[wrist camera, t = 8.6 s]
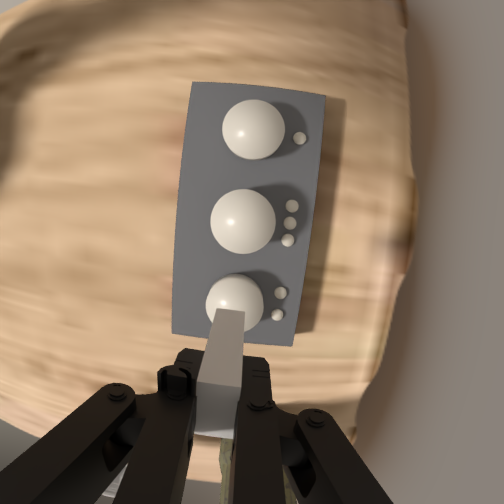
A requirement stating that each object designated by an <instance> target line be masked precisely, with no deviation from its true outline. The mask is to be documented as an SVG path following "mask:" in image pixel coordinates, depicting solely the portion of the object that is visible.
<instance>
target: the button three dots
mask: <svg viewBox="0 0 504 504" xmlns="http://www.w3.org/2000/svg"><path fill="white" fill-rule="evenodd" d="M210 223H211V229H212V233H213V235H214V237H215V239H216V240H217V242H218V243H219V244H220V245H221V246H222V247H224V248H225V249H227V250H229V251H231V252H234V253H238V254H248V253H253V252H255V251H258V250H260V249H261V248H263V247H264V246H265V245H266V244H267V243H268V242H269V241H270V239H271V238H272V235H273V233H274V230H275V225H276V218H275V213H274V210H273V208H272V206H271V204H270V203H269V201H268V200H267V199H266V198H265V197H264V196H262V195H261V194H259V193H258V192H256V191H253V190H248V189H238V190H234V191H231V192H229V193H227V194H225V195H224V196H222V197H221V198H220V199H219V200H218V202H217V203H216V204H215V206H214V208H213V210H212V213H211V221H210Z"/></svg>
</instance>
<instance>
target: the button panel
mask: <svg viewBox="0 0 504 504" xmlns="http://www.w3.org/2000/svg"><path fill="white" fill-rule="evenodd" d="M325 97H326V96H325V95H320V94H314V93H308V92H302V91H296V90H289V89H282V88H274V87H265V86H256V85H245V84H232V83H216V82H192V87H191V93H190V100H189V106H188V113H187V120H186V128H185V135H184V143H183V152H182V160H181V170H180V180H179V190H178V201H177V214H176V227H175V243H174V262H173V287H172V334H179V335H186V336H193V337H200V338H209V334H210V330H211V327H212V322H211V321H210V319H209V317H208V315H207V312H206V300H207V296H208V294H209V291H210V289H211V287H212V285H213V284H214V283H215V282H216V281H217V280H218V279H219V278H221V277H223V276H225V275H229V274H242V275H245V276H247V277H249V278H251V279H252V280H254V281H255V282H256V283H257V284H258V286H259V287H260V289H261V292H262V295H263V305H264V309H263V314H262V317H261V319H260V321H259V322H258V323H257V324H256V325H255V326H254V327H253V328H251V329H250V330H248V331H245V332H244V343H254V344H265V345H278V346H292V345H293V340H294V334H295V329H296V323H297V318H298V312H299V306H300V301H301V295H302V289H303V283H304V276H305V270H306V263H307V257H308V250H309V243H310V236H311V229H312V222H313V214H314V206H315V198H316V190H317V181H318V172H319V163H320V154H321V144H322V133H323V122H324V110H325ZM246 100H261V101H265V102H267V103H269V104H271V105H272V106H274V107H275V108H276V109H277V110H278V111H279V113H280V114H281V116H282V118H283V120H284V124H285V134H284V138H283V140H282V143H281V144H280V146H279V147H278V149H277V150H276V151H275V152H274V153H273V154H272V155H270V156H269V157H267V158H265V159H262V160H255V161H252V160H246V159H242V158H240V157H238V156H237V155H235V154H234V153H233V152H232V151H231V150H230V149H229V147H228V146H227V144H226V142H225V140H224V137H223V133H222V125H223V121H224V118H225V116H226V114H227V113H228V111H229V110H230V109H231V108H232V107H233V106H235V105H236V104H238V103H240V102H242V101H246ZM238 189H248V190H253V191H256V192H258V193H259V194H261V195H262V196H264V197H265V198H266V199H267V200H268V201H269V203H270V204H271V206H272V208H273V210H274V213H275V218H276V225H275V230H274V233H273V235H272V238H271V239H270V241H269V242H268V243H267V244H266V245H265V246H264V247H263V248H261V249H260V250H258V251H255V252H253V253H248V254H238V253H234V252H231V251H229V250H227V249H225V248H224V247H222V246H221V245H220V244H219V243H218V242H217V240H216V239H215V237H214V235H213V233H212V229H211V223H210V221H211V213H212V210H213V208H214V206H215V204H216V203H217V202H218V200H219V199H220V198H221V197H222V196H224V195H225V194H227V193H229V192H231V191H234V190H238Z"/></svg>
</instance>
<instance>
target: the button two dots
mask: <svg viewBox="0 0 504 504" xmlns="http://www.w3.org/2000/svg"><path fill="white" fill-rule="evenodd" d="M217 308H222V309H229V310H237V311H245V323H244V332H245V331H248V330H250V329H251V328H253V327H254V326H255V325H256V324H257V323H258V322H259V321H260V319H261V317H262V314H263V309H264V305H263V295H262V292H261V289H260V287H259V286H258V284H257V283H256V282H255V281H254V280H252V279H251V278H249V277H247V276H245V275H242V274H229V275H225V276H223V277H221V278H219V279H218V280H217V281H216V282H215V283H214V284H213V285H212V287H211V289H210V291H209V294H208V296H207V300H206V312H207V315H208V317H209V319H210V321H211V322H212V323H213V320H214V316H215V312H216V309H217Z"/></svg>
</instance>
